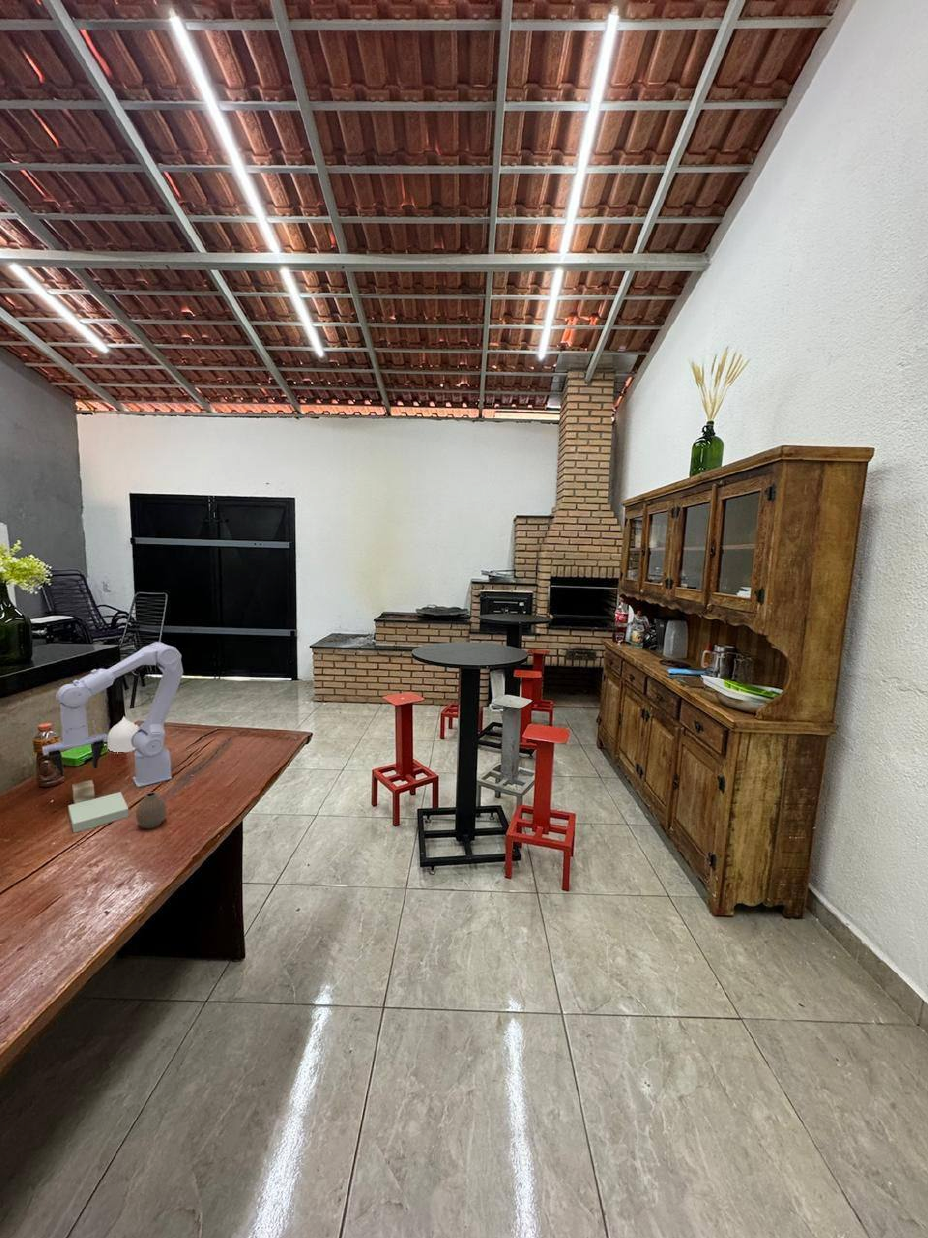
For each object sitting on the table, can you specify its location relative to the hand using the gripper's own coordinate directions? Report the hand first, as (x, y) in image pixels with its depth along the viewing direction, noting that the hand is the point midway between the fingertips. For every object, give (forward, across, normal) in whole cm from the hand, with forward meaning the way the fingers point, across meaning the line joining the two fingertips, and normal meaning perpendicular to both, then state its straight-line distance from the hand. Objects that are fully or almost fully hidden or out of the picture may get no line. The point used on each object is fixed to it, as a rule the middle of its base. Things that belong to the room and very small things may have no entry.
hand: (78, 771), depth 141 cm
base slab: (+9, -2, +12) cm, 16 cm away
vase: (+10, -11, +27) cm, 31 cm away
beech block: (+9, -1, 0) cm, 9 cm away
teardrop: (+10, -19, -36) cm, 41 cm away
